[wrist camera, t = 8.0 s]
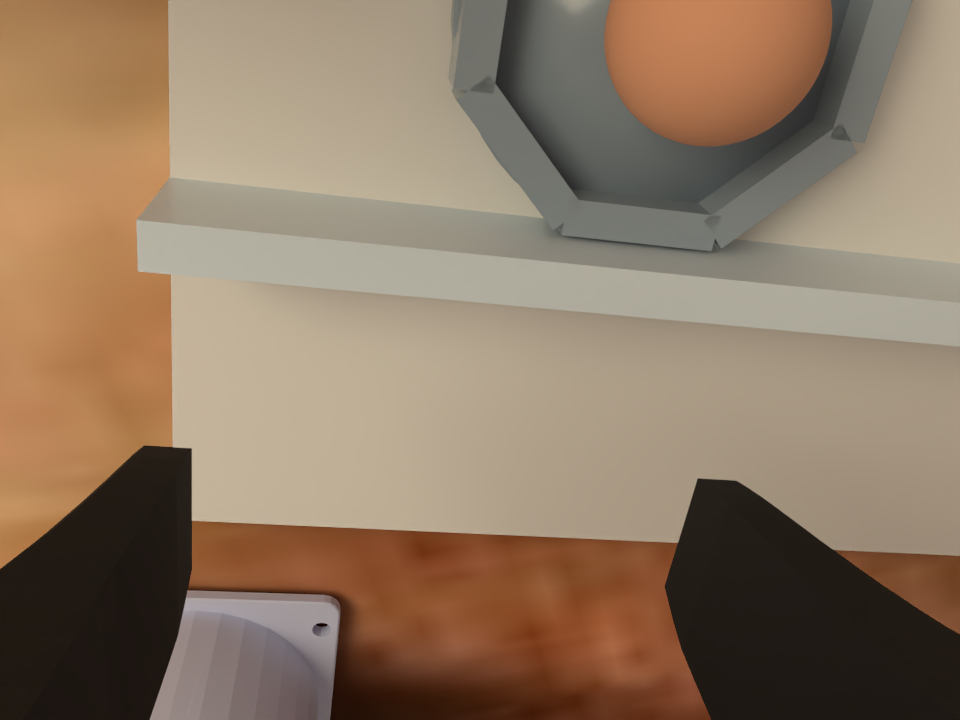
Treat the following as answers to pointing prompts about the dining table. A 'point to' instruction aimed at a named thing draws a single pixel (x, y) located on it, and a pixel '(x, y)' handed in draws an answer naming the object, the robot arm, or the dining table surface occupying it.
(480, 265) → the fence
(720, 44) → the rust ball
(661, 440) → the board
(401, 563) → the dining table surface
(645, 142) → the dish
